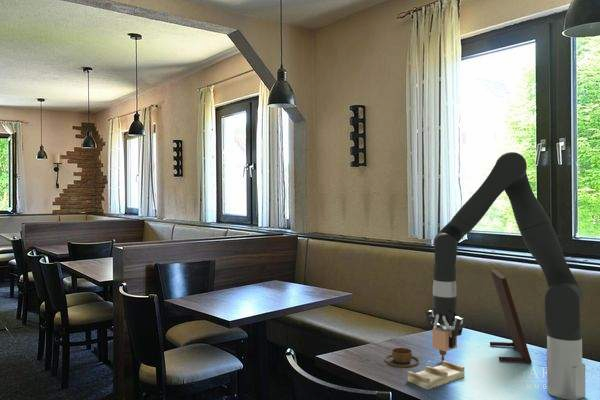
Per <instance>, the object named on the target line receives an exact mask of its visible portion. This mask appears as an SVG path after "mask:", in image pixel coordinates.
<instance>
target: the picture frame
mask: <svg viewBox="0 0 600 400" xmlns="http://www.w3.org/2000/svg"><path fill="white" fill-rule="evenodd" d="M490 273H491V277H492V279H493V282H494V286H495V289H496V292H497V296H498V299H499V303H500V306H501V309H502V313H503V315H504V318H505V321H506V325H507V328H508V332H509V335H510V338H511V342H508V341H507V342H504V341H502V342H501V341H489V346H490V347H491V346H493V347H514V348H515V350H516V351H517V353H518V354H519V355H520V357H516V356H513V357H512V356H498V360H499V362H515V363H517V362H518V363H522V362H523V363H526V364H527V365H528V364H529V365H530V364H532V363H533V361H532V358H531V355H530V351H529V348H528V345H527V342H526V338H525V336H524V332H523V329H522V326H521V322H520V319H519V316H518V312H517V310H516V306H515V303H514V299H513V297H512V293H511V290H510V287H509V283H508V281H507V277H505V276H504V275H503V274H502V273H501V272H499V271H498V270H497V269H495V268H493V269H490Z"/></svg>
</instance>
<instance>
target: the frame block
mask: <svg viewBox="0 0 600 400" xmlns="http://www.w3.org/2000/svg"><path fill="white" fill-rule="evenodd" d="M432 348H433V349H436V350H438V351H439V350H442V351H446V352H448V351H450V350H451V351H452V350H455V349H457V348H458V336H456V346H455V347H454V348H452V349H451V348H449V332H448V330H446V327H445V326H444V325H443V326H442V327H439V328H435V329H433V330H432Z"/></svg>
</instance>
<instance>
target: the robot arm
mask: <svg viewBox="0 0 600 400" xmlns="http://www.w3.org/2000/svg"><path fill="white" fill-rule="evenodd" d="M527 168H528V164H527V160H526V158H525V157H524V156H523V155H522V154H520V153H519V152H516V151H511V152H510V151H509V152H505V153H502V154H501V155H500V156H499V157H498V158H497V160H496V161H495V164H494V166H493V167H492V170H491V171H490V173H488V175H487V177H486V178H485V180H484V181H483V183H482V184H481V185H480V186H479V187H478V189H477V190H476V191H475V192H474V193H473V194H472V195H471V196H470V197H469V199H468V200H467V201H466V202H465V203H464V204H463V205H462V206H461V207H460V209H459V210H457V212H456V213H455V214H454V215H453V217H452V218H451V220H450V221H448V222H447V224H445V226H443V228H441V229H440V230H439V231H438V233H437V234H436V235H435V236H434V238H433V242H432V244H433V247H434V248H433V249H434V264H433V265H434V266H433V283H432V307H433V309H432V310H426V311H425V314H426V320H427V321H426V322H427V326H428V329H429V330H431V331H433V329H435V328H439V327H443V326H445V327H446V330H448V332H449V348H451V350H453V349H452V348H454V347H455V346H456V336H457V337H459V336H461V335H462V333H463V329H464V324H465V318H464V317H460V316H458V315H457V312H456V310H457V307H458V301H457V300H458V298H457V297H458V296H457V295H458V292H457V289H458V288H457V264H456V263H457V255H458V254H457V253H458V244H459V242H460V241H461V240H462V239H463V238H464V237H465V235H468V234H469V233H470V232H471V231H472V230H473V229H474V228H475V227H476V226H477V224H478V223H479V222H480V221H481V220H482V218H484V216H485V215H486V213H487V212H488V211H489V210H490V208H492V205H493V204H494V203H495V201H496V200H497V199H498V198H499V196H500V195H501V194H502V193H503V192H505V194H506V196H507V198H508V200H509V202H510V205H511V209H512V212H513V216H514V219H515V221H516V225H517V228H518V230H519V234H520V235H521V237H522V240H523V243H524V245H525V246H526V248H527V250H528V251H529V253H530V254H531V256H532V257H533V259H535V261H536V263H537V264H538V265H539V267H540V269H541V270H542V272H543V275H544V277H545V281H546V283H547V287H548V289H547V290H546V292H545V295H544V324H545V328H546V375H547V376H546V378H547V379H546V386H547V387H546V389H547V390H546V391H547V393H548V394H549V395H550V396H553V397H556V398H558V399H563V400H581V399H583V398H584V397H586V364H585V363H583V330H582V327H581V312H580V311H581V306H582V305H583V303H584V299H585V297H584V292H583V291H582V288H581V287H580V284H579V282H578V281H577V280H576V277H575V276H574V274H573V273H572V271H571V269H570V267H569V265H568V263H567V261H566V258H565V254H564V252H563V250H562V247H561V244H560V241H559V239H558V236H557V233H556V231H555V229H554V226H553V224H552V221H551V220H550V218H549V216H548V213H547V212H546V211H545V208H544V207H543V206H542V204H541V203H540V202H539V201H540V200H538V199H537V197H536V195H535V193H534V192H533V189H532V187H531V183H530V181H529V178H528V174H527Z"/></svg>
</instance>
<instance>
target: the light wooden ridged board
mask: <svg viewBox="0 0 600 400" xmlns="http://www.w3.org/2000/svg"><path fill="white" fill-rule="evenodd" d="M441 362H442V364H440V365H437V366H434V367H432V366H429V365H425V369H424V370H421V371H418V372H413V371H411V370H410V371H407V382H409V383H411V384H414V385H415V386H418V387H420V388H423V389H425V390H427V391H428V390H430V389H433V387H434V388H437V387H439V386H443V385H445V384H447V383H451V382H453V380H454V381H457V380H459V379H458V378H460V379H462V378H461V377H463V378H465V366H462V365H459V364H456V363H453V362H451V361H447V360H446V359H444V361H442V360H441ZM456 379H457V380H456ZM450 381H451V382H450ZM436 386H437V387H436Z"/></svg>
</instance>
